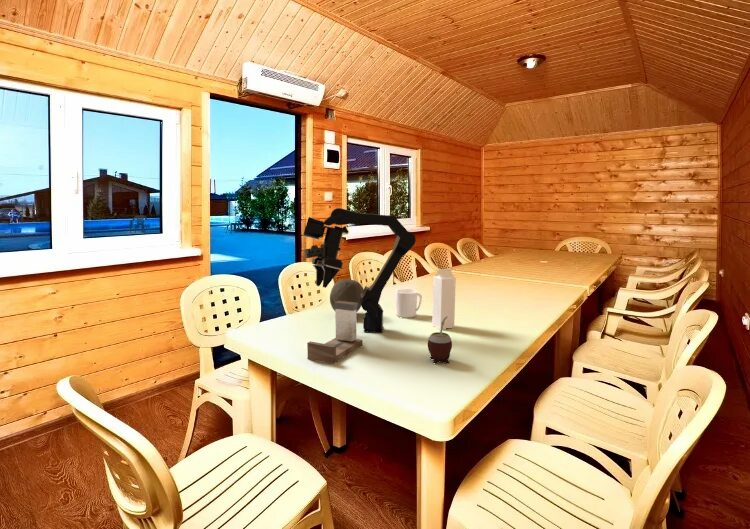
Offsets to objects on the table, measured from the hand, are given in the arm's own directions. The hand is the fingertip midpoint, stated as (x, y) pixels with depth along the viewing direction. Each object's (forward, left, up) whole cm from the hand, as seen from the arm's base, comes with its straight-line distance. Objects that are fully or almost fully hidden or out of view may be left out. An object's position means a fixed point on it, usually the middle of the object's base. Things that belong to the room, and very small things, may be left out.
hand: (320, 286), depth 151 cm
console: (-9, +16, -17) cm, 26 cm away
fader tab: (-11, +11, -15) cm, 21 cm away
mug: (-28, -30, -18) cm, 45 cm away
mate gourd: (-41, +20, -18) cm, 49 cm away
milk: (-42, -16, -18) cm, 49 cm away
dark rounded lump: (-3, -27, -18) cm, 33 cm away
